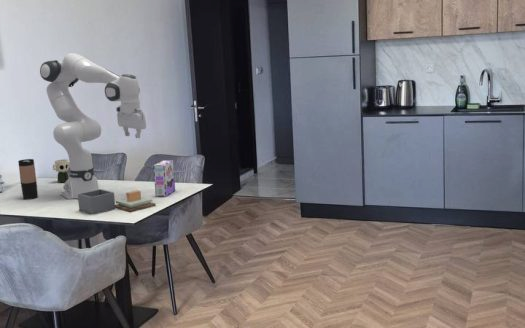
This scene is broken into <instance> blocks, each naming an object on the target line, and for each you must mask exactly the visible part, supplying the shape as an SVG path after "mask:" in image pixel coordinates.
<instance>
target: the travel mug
mask: <svg viewBox="0 0 525 328" xmlns="http://www.w3.org/2000/svg"><path fill="white" fill-rule="evenodd" d="M17 163H18V171H19V172H18V173H19V178H20V179H19V180H20V186H21V194H22V199H23V200H33V199H38V197H39V196H38V194H39V193H38V185H37V184H38V183H37V182H38V181H37V176H36V175H37V174H36V167H35V166H36V165H35V159H33V158H28V159H27V158H26V159H20V160H18V162H17Z"/></svg>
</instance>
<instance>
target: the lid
mask: <svg viewBox="0 0 525 328" xmlns="http://www.w3.org/2000/svg"><path fill="white" fill-rule="evenodd" d="M141 193H142V192H141V190H132V191H128V192H125V194H126V198H124V199H117V200H116V201H115V204H120V205H122V206H126V207H129V208H133V207H137V206H141V205H146V204H149V202H152V203H153V199H152V198H148V197H143V196H142V194H141Z"/></svg>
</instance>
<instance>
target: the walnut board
mask: <svg viewBox="0 0 525 328" xmlns="http://www.w3.org/2000/svg"><path fill="white" fill-rule="evenodd" d="M156 206H157V205H156V203H155V202H153V201H152V202H149V204H146V205H141V206H137V207H133V208H129V207H126V206H122V205H120V204H118V203H116V204H115V209H117V210H121V211H125V212H128V213H132V212H136V211H140V210H144V209H145V210H146V209H148V208H152V207H156Z"/></svg>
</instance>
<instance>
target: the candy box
mask: <svg viewBox="0 0 525 328" xmlns="http://www.w3.org/2000/svg"><path fill="white" fill-rule="evenodd" d="M174 168H175V167H174V160H161V161H160V162H158V163H156V164H153V177H154V180H153V181H154V190H155V192H154V193H155V197H158V198H159V197H163V198H164V197H168V196H169V195H171V194H172V193H174V192H175V191H176V181H175V171H174Z"/></svg>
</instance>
